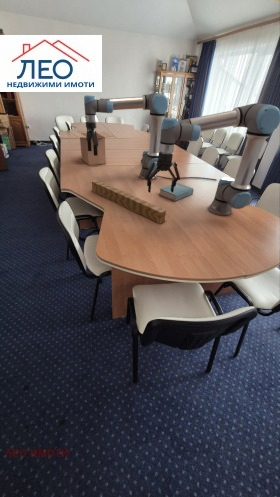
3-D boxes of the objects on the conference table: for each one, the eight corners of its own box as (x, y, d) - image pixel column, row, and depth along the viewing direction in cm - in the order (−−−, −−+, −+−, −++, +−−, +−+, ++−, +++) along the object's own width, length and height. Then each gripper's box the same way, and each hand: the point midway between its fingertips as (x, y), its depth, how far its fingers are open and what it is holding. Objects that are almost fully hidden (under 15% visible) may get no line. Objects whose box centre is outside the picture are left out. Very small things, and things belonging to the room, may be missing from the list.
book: (176, 188, 187) (177, 182, 184) (192, 194, 178) (193, 188, 175) (159, 194, 174) (160, 188, 171) (175, 201, 165) (176, 195, 162)
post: (92, 191, 172) (91, 181, 167) (97, 189, 175) (96, 180, 171) (159, 223, 138) (161, 212, 133) (164, 221, 141) (166, 210, 136)
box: (116, 165, 229) (116, 136, 213) (83, 168, 214) (80, 137, 198) (102, 154, 259) (101, 128, 243) (71, 156, 244) (68, 129, 228)
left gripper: (80, 119, 164) (83, 149, 177) (91, 124, 147) (93, 157, 160) (90, 119, 168) (92, 149, 180) (102, 124, 150) (103, 157, 163)
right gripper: (144, 153, 109) (140, 194, 121) (191, 155, 114) (183, 194, 126) (140, 149, 114) (138, 189, 127) (185, 151, 120) (178, 189, 132)
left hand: (92, 153), depth 170 cm, fingers open, 13 cm apart
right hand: (160, 191), depth 127 cm, fingers open, 13 cm apart
